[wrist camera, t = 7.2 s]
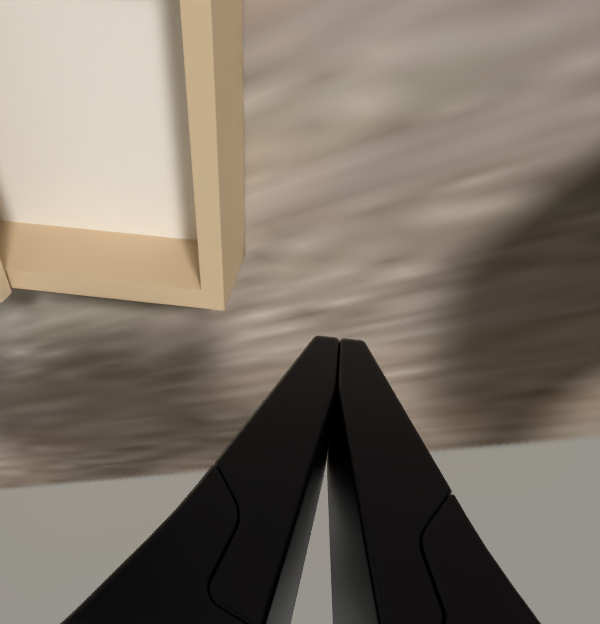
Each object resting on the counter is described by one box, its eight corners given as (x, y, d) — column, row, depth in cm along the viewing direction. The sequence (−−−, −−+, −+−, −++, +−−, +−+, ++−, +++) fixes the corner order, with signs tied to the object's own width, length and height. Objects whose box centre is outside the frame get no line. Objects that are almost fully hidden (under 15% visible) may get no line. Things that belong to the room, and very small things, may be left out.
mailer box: (240, -157, 14) (202, -178, 11) (245, 254, 22) (224, 310, 19) (-242, -186, 15) (-405, -213, 12) (-72, 221, 23) (-142, 270, 20)
